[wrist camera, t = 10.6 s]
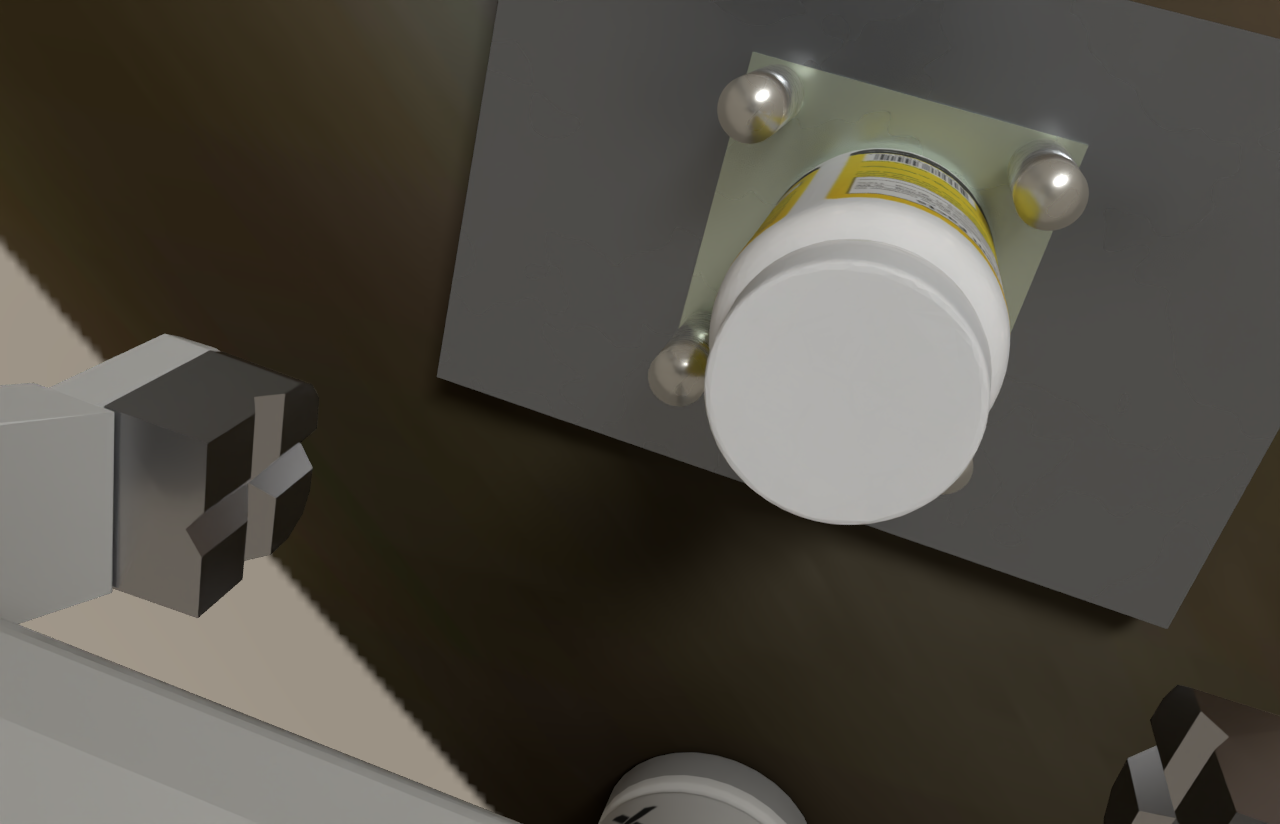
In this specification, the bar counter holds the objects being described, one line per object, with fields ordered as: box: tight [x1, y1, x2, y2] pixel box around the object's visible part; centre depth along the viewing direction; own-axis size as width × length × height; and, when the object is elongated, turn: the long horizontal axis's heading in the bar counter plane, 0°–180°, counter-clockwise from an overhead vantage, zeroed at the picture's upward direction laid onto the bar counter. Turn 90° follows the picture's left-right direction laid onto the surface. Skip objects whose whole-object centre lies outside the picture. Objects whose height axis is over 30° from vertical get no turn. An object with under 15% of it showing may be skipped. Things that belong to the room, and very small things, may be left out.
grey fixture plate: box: [437, 0, 1280, 629], centre depth 22 cm, size 18×12×4 cm, turn 75°
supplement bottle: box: [704, 148, 1010, 525], centre depth 18 cm, size 5×5×8 cm
